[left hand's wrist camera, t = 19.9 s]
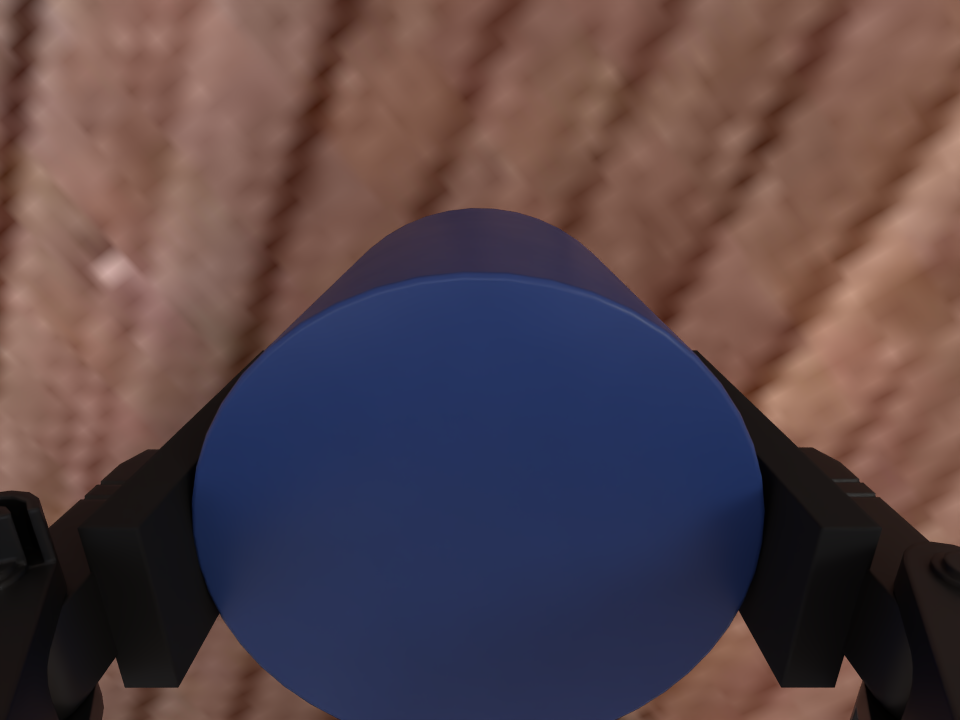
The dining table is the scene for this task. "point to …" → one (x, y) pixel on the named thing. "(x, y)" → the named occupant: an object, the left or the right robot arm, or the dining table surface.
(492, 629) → the blue cylinder
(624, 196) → the dining table surface
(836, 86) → the dining table surface
